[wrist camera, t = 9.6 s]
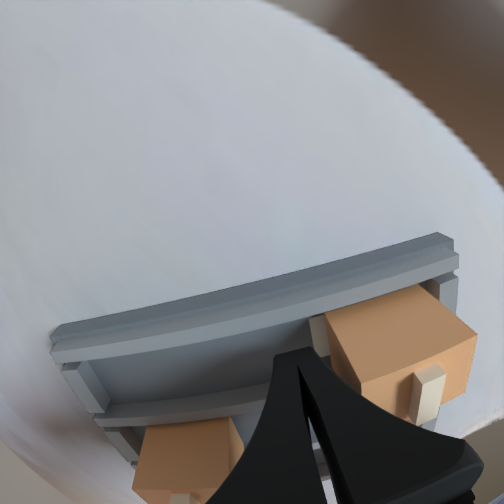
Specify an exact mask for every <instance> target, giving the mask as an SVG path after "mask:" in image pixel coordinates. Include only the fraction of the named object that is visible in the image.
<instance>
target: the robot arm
mask: <svg viewBox="0 0 504 504" xmlns="http://www.w3.org/2000/svg"><path fill="white" fill-rule="evenodd" d="M308 417H309V418H308ZM309 420H310V422H311V425H312V427H313V430H314V433H315V435H316V438H317V440H318V443H319V445H320V448H321V451H322V453H323V456H324V458H325V461H326V464H327V467H328V470H329V473H330V477H331V481H332V484H333V488H334V492H335V496H336V500H337V504H474V503H473V501H474V500H475V495H474V494H473V492H472V490H471V488H472V487H473V485H474V484H475V483H476V481H477V480H478V478H479V477H480V475H481V473H482V471H483V469H484V463H483V462H482V460H481V459H480V457H479V456H478V454H477V453H476V452H475V451H474V449H473V448H472V447H471V446H470V445H469V444H468V443H467V442H466V441H465V440H463V439H459V438H454V437H450V436H446V435H442V434H439V433H436V432H433V431H430V430H427V429H424V428H422V427H419V426H417V425H414V424H412V423H410V422H408V421H405V420H403V419H401V418H399V417H397V416H395V415H393V414H391V413H389V412H387V411H386V410H384V409H382V408H380V407H379V406H377V405H376V404H374V403H372V402H371V401H369V400H368V399H367V398H365V397H364V396H362V395H361V394H360V393H358V392H357V391H356V390H354V389H353V388H352V387H351V386H349V385H348V384H347V383H346V382H345V381H344V380H343V379H341V378H340V377H339V376H338V375H337V374H336V373H335V372H334V371H333V370H332V369H331V368H330V367H329V366H328V365H327V364H326V363H325V362H324V361H323V360H322V359H321V357H320V356H319V355H318V354H317V352H316V351H315V350H314V348H312V347H311V346H308V347H304V348H301V349H297V350H293V351H289V352H285V353H281V354H277V355H275V356H274V358H273V371H272V377H271V382H270V387H269V391H268V394H267V398H266V402H265V405H264V407H263V410H262V413H261V416H260V419H259V421H258V424H257V426H256V428H255V431H254V433H253V435H252V437H251V439H250V441H249V443H248V445H247V447H246V448H245V450H244V452H243V454H242V456H241V457H240V459H239V460H238V462H237V464H236V465H235V467H234V468H233V470H232V471H231V472H230V474H229V475H228V476H227V478H226V479H225V480H224V482H223V483H222V484H221V486H220V487H219V488H218V489H217V491H216V492H215V493H214V494H213V495H212V496H211V497H210V498H209V500H208V501H207V502H206V503H205V504H327V500H326V496H325V493H324V489H323V485H322V482H321V478H320V474H319V471H318V467H317V463H316V459H315V456H314V452H313V446H312V439H311V432H310V425H309ZM489 504H504V494H502V495H501V496H499V497H498V498H496V499H495V500H493V501H492V502H491V503H489Z"/></svg>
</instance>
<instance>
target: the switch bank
mask: <svg viewBox="0 0 504 504" xmlns="http://www.w3.org/2000/svg"><path fill="white" fill-rule="evenodd" d="M458 268H459V254H458V253H456V252H454V240H453V239H452V238H449V237H447V236H445V235H443V234H441V233H439V232H437V233H434V234H430V235H427V236H423V237H420V238H417V239H413V240H410V241H406V242H403V243H399V244H396V245H392V246H389V247H385V248H381V249H378V250H374V251H371V252H367V253H363V254H360V255H356V256H352V257H349V258H345V259H341V260H338V261H334V262H330V263H326V264H323V265H319V266H315V267H311V268H307V269H303V270H300V271H296V272H292V273H288V274H284V275H280V276H276V277H272V278H268V279H264V280H260V281H256V282H252V283H248V284H244V285H240V286H236V287H231V288H227V289H223V290H219V291H215V292H211V293H206V294H202V295H198V296H193V297H189V298H185V299H180V300H176V301H172V302H167V303H163V304H158V305H154V306H149V307H145V308H140V309H135V310H131V311H126V312H122V313H117V314H112V315H107V316H102V317H98V318H93V319H88V320H83V321H78V322H73V323H68V324H63V325H60V326H59V327H58V328H57V330H56V331H55V332H54V333H53V334H52V335H51V337H50V340H51V342H52V343H53V345H54V347H53V348H52V350H51V351H50V352H49V353H50V355H51V356H52V358H53V360H54V362H55V363H56V364H60V363H64V364H65V365H64V366H63V368H62V369H61V371H60V372H61V373H62V375H63V376H64V378H65V380H66V381H67V383H68V384H69V386H70V387H71V389H72V390H73V392H74V393H75V395H76V396H77V398H78V399H79V401H80V402H81V403H82V405H83V406H84V408H85V409H86V410H87V412H88V413H95V415H94V417H93V420H94V421H95V423H96V424H97V425H98V426H99V427H105V428H104V430H103V433H104V434H105V435H106V437H107V438H108V439H109V440H110V442H111V443H112V444H113V445H114V446H115V448H116V449H117V450H118V451H119V452H120V453H121V455H122V456H123V457H124V458H125V459H126V460H127V461H132V462H131V466H132V467H133V468H134V469H135V470H136V468H137V464H138V460H139V456H140V451H141V447H142V443H143V439H144V436H145V432H146V428H147V425H159V424H170V423H180V422H189V421H198V420H205V419H212V418H219V417H225V416H230V417H231V419H232V421H233V423H234V425H235V427H236V429H237V432H238V434H239V436H240V438H241V440H242V442H243V444H244V450H245V448H246V447H247V445H248V443H249V441H250V439H251V437H252V435H253V433H254V431H255V428H256V426H257V424H258V421H259V419H260V416H261V413H262V410H263V407H264V405H265V402H266V398H267V394H268V391H269V387H270V382H271V377H272V371H273V358H274V356H275V355H277V354H281V353H285V352H289V351H293V350H297V349H301V348H304V347H308V346H311V347H312V348H314V350H315V351H316V352H317V354H318V355H319V356H320V357H321V359H322V360H323V361H324V362H325V363H326V364H327V365H328V366H329V367H330V368H331V369H332V370H333V371H334V369H333V367H332V364H331V356H330V349H329V342H328V335H327V328H326V321H325V315H324V313H326V312H329V311H333V310H336V309H340V308H343V307H346V306H350V305H353V304H357V303H360V302H363V301H366V300H370V299H373V298H376V297H379V296H382V295H385V294H389V293H392V292H395V291H398V290H401V289H404V288H407V287H410V286H412V285H415V284H419V285H420V286H421V287H422V288H423V289H425V290H426V291H427V292H428V293H430V294H431V295H432V296H433V297H435V298H436V299H437V300H438V301H439V302H441V303H442V304H443V305H444V306H445V307H447V308H448V309H449V310H450V311H451V312H452V313H454V314H455V315H456V306H457V293H458V277H457V276H456V275H454V274H453V270H455V269H458ZM439 409H440V407H439ZM438 413H439V410H438ZM437 417H438V414H437ZM437 417H436V418H434V419H432V420H430V421H428V422H426V423H423V424H421V425H419V427H422V428H424V429H427V430H430V431H434V428H435V424H436V421H437ZM308 418H309V417H308ZM309 425H310V432H311V439H312V446H313V452H314V456H315V459H316V463H317V467H318V471H319V474H320V478H321V481H325V480H329V479H331V477H330V473H329V470H328V467H327V464H326V461H325V458H324V456H323V453H322V451H321V448H320V445H319V443H318V440H317V438H316V435H315V433H314V430H313V427H312V425H311V422H310V420H309Z"/></svg>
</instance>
